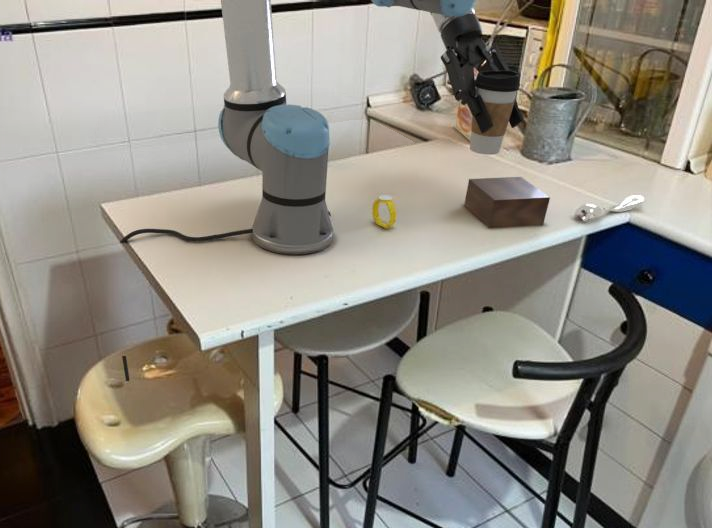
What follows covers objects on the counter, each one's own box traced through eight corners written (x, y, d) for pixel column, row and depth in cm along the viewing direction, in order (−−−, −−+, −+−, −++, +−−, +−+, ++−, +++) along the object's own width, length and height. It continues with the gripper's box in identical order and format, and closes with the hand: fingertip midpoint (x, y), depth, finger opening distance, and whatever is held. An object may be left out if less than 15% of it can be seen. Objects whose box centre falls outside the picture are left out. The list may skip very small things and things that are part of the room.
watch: (397, 230, 129) (401, 201, 126) (386, 232, 128) (389, 204, 125) (379, 219, 133) (382, 191, 130) (368, 221, 132) (370, 193, 129)
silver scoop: (634, 184, 144) (653, 191, 141) (629, 199, 146) (648, 206, 143) (571, 204, 136) (590, 212, 132) (568, 220, 138) (586, 228, 134)
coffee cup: (507, 158, 128) (524, 78, 120) (463, 154, 129) (477, 75, 121) (504, 145, 135) (520, 69, 127) (462, 142, 136) (475, 66, 128)
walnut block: (488, 228, 131) (494, 200, 128) (464, 205, 141) (468, 178, 138) (543, 225, 133) (550, 197, 130) (515, 202, 143) (520, 176, 140)
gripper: (482, 33, 137) (525, 130, 134) (407, 39, 128) (452, 143, 125) (506, 8, 131) (552, 110, 128) (429, 13, 121) (477, 123, 118)
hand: (502, 126), depth 126 cm, fingers closed on coffee cup, 8 cm apart
